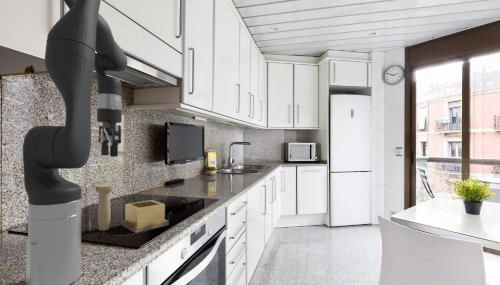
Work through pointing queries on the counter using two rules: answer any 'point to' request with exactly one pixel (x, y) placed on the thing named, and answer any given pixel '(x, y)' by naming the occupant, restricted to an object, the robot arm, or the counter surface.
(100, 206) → the handle
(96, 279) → the counter surface
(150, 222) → the sleeve block
